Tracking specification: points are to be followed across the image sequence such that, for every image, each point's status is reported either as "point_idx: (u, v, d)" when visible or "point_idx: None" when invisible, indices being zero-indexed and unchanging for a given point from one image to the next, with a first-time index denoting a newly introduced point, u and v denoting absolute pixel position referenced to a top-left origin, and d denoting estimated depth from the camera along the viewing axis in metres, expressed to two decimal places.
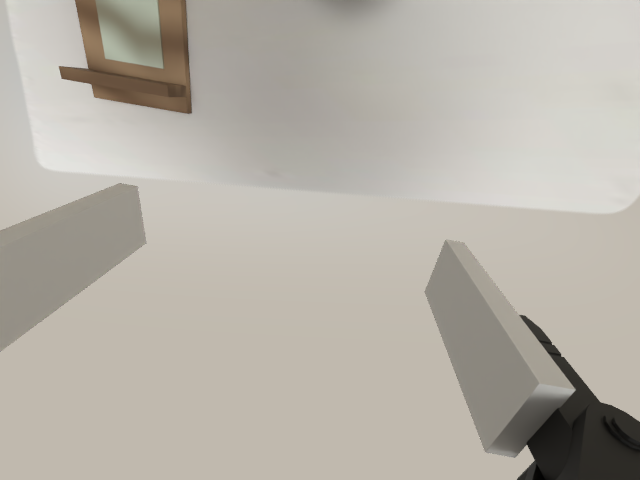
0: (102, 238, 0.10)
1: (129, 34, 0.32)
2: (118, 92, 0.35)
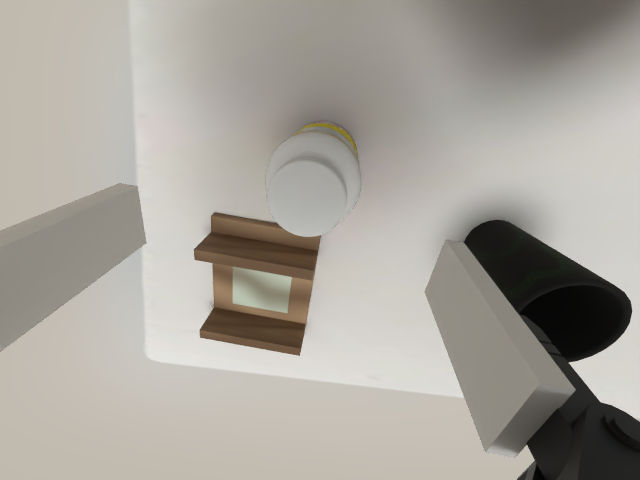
0: (102, 238, 0.10)
1: (260, 290, 0.35)
2: None
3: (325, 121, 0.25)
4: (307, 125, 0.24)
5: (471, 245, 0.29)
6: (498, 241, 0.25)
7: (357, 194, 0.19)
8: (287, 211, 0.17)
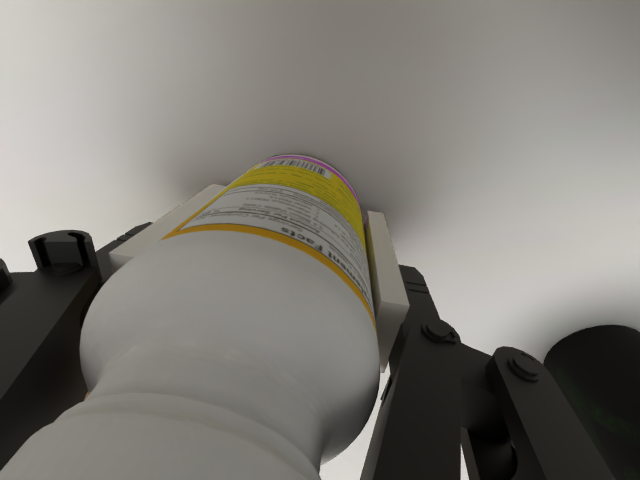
0: None
1: None
2: None
3: (297, 155, 0.12)
4: (254, 168, 0.11)
5: (569, 374, 0.16)
6: None
7: (368, 417, 0.06)
8: None
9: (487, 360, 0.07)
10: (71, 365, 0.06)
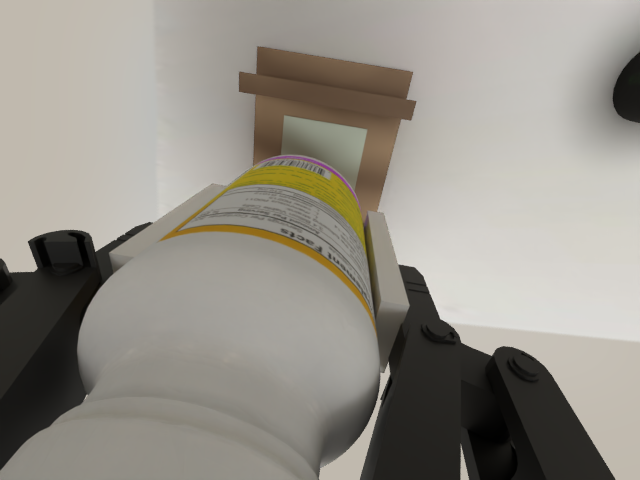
0: None
1: None
2: None
3: (297, 156, 0.12)
4: (254, 169, 0.11)
5: None
6: None
7: (368, 419, 0.06)
8: None
9: (487, 360, 0.07)
10: (71, 365, 0.06)
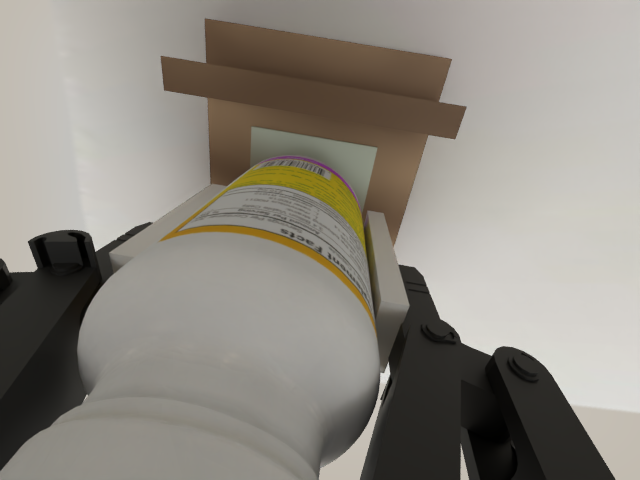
0: None
1: None
2: None
3: (297, 156, 0.12)
4: (254, 169, 0.11)
5: None
6: None
7: (368, 419, 0.06)
8: None
9: (487, 360, 0.07)
10: (71, 365, 0.06)
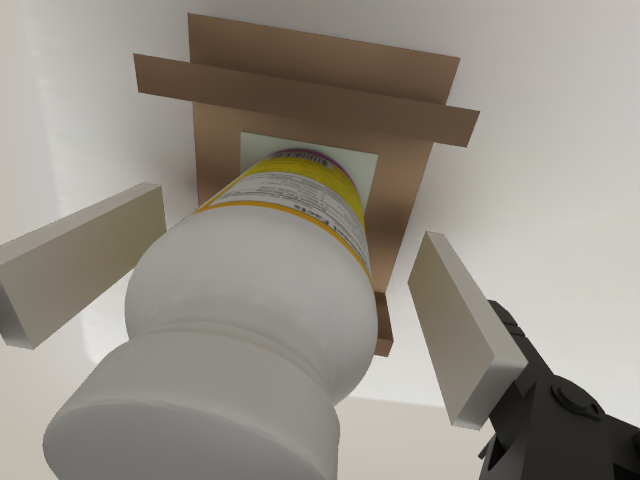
0: (130, 235, 0.11)
1: None
2: None
3: (302, 149, 0.14)
4: (264, 160, 0.12)
5: None
6: None
7: (368, 365, 0.07)
8: None
9: (634, 429, 0.06)
10: None
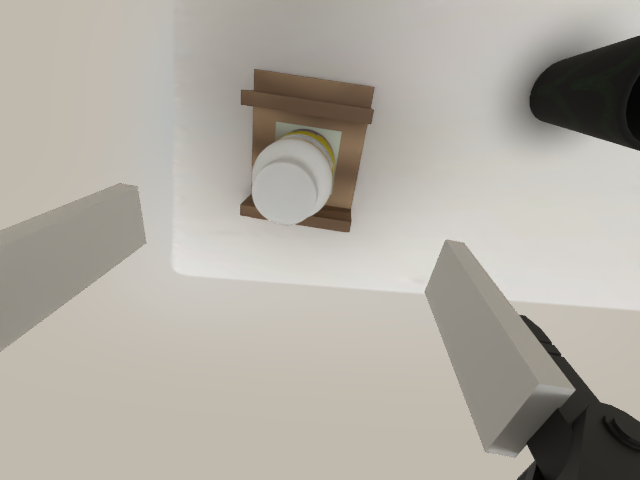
0: (102, 238, 0.10)
1: None
2: None
3: (305, 129, 0.29)
4: (289, 133, 0.28)
5: (544, 83, 0.26)
6: (584, 56, 0.23)
7: (328, 190, 0.23)
8: (268, 203, 0.21)
9: None
10: None
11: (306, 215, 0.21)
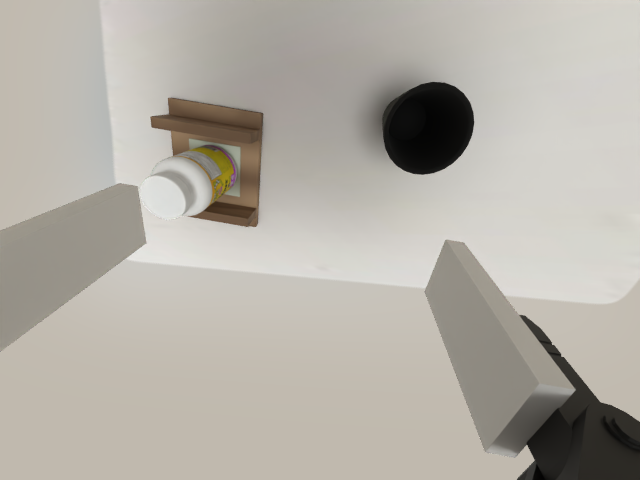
0: (102, 238, 0.10)
1: None
2: None
3: (210, 145, 0.37)
4: None
5: (384, 114, 0.34)
6: None
7: (206, 194, 0.31)
8: (153, 204, 0.29)
9: None
10: None
11: (181, 213, 0.29)
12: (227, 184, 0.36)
